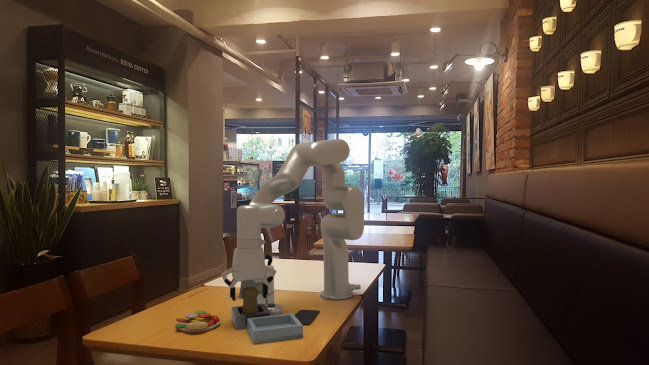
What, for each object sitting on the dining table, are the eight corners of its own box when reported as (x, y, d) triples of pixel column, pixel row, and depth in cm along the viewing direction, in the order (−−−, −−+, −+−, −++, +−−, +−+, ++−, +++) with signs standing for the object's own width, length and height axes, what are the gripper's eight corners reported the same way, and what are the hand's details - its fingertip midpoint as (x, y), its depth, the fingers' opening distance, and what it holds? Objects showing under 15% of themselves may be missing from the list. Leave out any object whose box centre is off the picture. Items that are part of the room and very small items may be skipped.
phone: (320, 310, 150) (309, 324, 135) (321, 312, 150) (309, 326, 135) (300, 309, 151) (286, 322, 137) (300, 311, 151) (286, 325, 137)
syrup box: (274, 305, 157) (274, 265, 157) (267, 310, 152) (266, 268, 152) (260, 304, 159) (260, 264, 159) (252, 308, 154) (252, 267, 154)
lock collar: (279, 310, 152) (279, 298, 152) (289, 323, 138) (289, 310, 138) (230, 315, 146) (230, 303, 146) (235, 329, 132) (235, 316, 132)
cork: (256, 325, 136) (255, 290, 135) (237, 324, 137) (237, 289, 137) (262, 319, 141) (262, 285, 141) (245, 318, 143) (244, 285, 143)
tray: (292, 324, 136) (292, 313, 136) (302, 337, 125) (302, 325, 125) (247, 330, 132) (247, 318, 132) (253, 344, 120) (253, 331, 120)
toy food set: (195, 337, 127) (195, 326, 127) (165, 330, 134) (165, 319, 134) (228, 324, 138) (228, 314, 138) (199, 318, 145) (199, 308, 145)
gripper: (273, 241, 145) (273, 293, 145) (219, 244, 140) (220, 297, 140) (278, 244, 138) (278, 299, 138) (222, 247, 133) (222, 303, 132)
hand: (249, 298), depth 139 cm, fingers open, 9 cm apart
